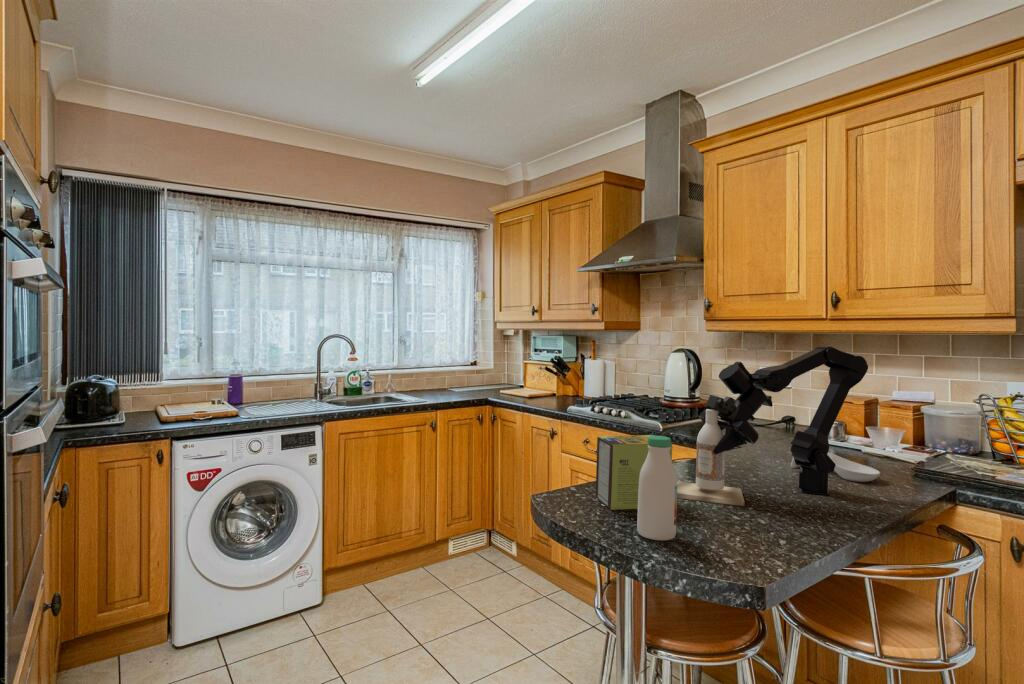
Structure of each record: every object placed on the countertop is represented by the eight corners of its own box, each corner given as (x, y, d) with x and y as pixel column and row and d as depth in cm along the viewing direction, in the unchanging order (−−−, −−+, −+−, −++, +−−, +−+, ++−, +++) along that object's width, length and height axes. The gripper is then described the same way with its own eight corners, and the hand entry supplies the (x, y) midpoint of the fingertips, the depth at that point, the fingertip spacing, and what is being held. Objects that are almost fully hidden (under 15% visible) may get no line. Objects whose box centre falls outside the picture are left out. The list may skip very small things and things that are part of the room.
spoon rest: (884, 481, 160) (885, 457, 160) (872, 488, 153) (873, 462, 152) (799, 465, 178) (800, 443, 178) (785, 470, 170) (786, 447, 170)
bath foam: (690, 486, 140) (692, 409, 140) (703, 481, 145) (705, 407, 145) (716, 492, 135) (718, 412, 135) (729, 487, 140) (731, 410, 139)
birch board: (740, 492, 143) (740, 488, 143) (744, 506, 132) (744, 501, 132) (676, 485, 148) (677, 481, 148) (675, 497, 137) (675, 493, 137)
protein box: (671, 508, 129) (673, 442, 129) (610, 510, 126) (612, 443, 125) (651, 494, 139) (653, 434, 139) (594, 496, 136) (596, 435, 136)
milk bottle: (669, 544, 106) (673, 442, 106) (631, 535, 110) (634, 437, 110) (680, 533, 112) (683, 436, 112) (643, 525, 117) (647, 432, 116)
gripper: (705, 381, 149) (668, 422, 147) (749, 388, 131) (707, 435, 129) (730, 409, 151) (693, 450, 149) (776, 420, 133) (735, 467, 131)
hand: (706, 449), depth 140 cm, fingers closed on bath foam, 7 cm apart
